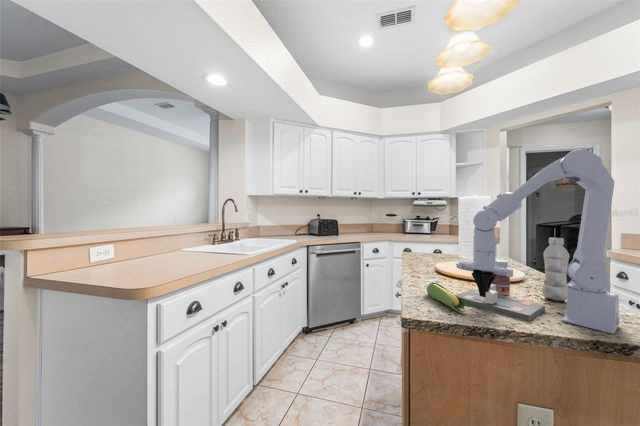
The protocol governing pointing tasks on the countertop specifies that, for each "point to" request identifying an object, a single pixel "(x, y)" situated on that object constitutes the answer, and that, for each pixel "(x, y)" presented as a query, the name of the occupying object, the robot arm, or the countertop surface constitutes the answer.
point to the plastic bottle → (555, 270)
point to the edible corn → (446, 297)
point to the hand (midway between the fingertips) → (483, 296)
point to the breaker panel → (504, 305)
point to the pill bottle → (502, 279)
